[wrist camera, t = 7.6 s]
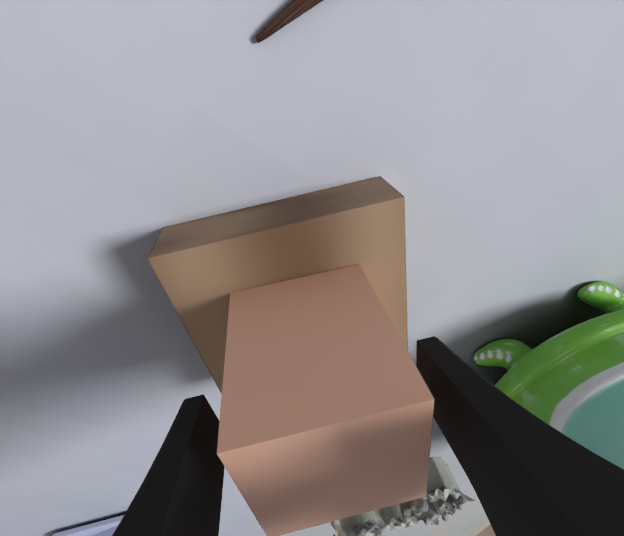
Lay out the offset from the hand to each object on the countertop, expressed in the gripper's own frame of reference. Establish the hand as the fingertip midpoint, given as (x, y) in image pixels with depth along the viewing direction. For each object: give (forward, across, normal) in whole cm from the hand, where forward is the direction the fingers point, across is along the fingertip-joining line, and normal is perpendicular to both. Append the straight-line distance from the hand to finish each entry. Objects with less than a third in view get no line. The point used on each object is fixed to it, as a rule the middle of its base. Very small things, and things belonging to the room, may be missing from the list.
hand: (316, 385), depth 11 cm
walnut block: (+6, 0, 0) cm, 6 cm away
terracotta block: (+3, 0, 0) cm, 3 cm away
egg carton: (+6, -4, +22) cm, 23 cm away
